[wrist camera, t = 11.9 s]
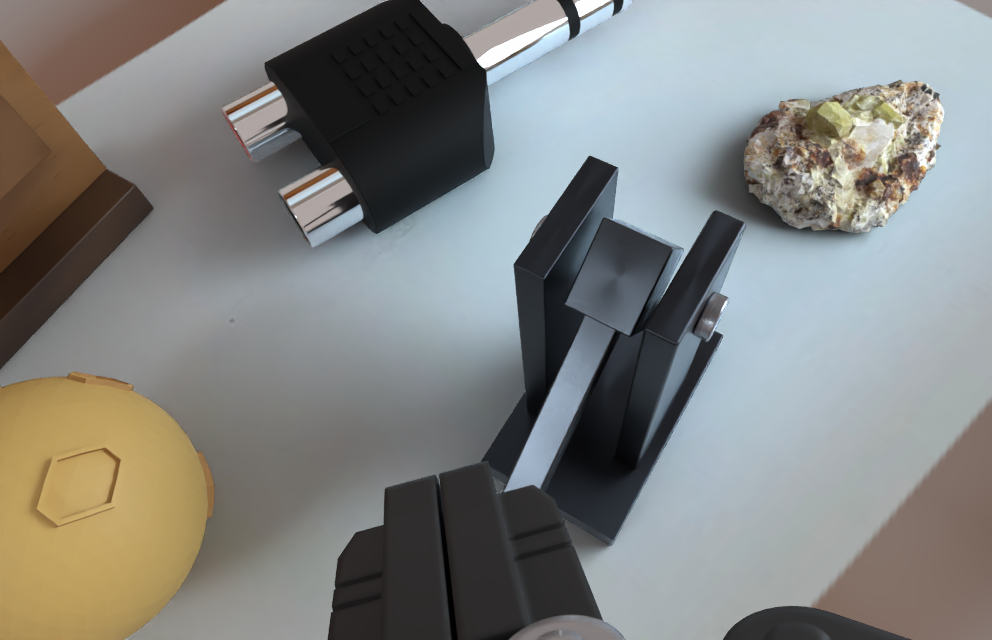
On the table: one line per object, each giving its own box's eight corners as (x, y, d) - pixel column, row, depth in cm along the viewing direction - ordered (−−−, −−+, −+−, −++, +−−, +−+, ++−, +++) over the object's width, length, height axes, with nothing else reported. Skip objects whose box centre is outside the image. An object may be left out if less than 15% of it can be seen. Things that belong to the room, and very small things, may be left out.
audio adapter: (195, 68, 36) (612, -142, 41) (237, 142, 41) (606, -54, 46) (300, 220, 31) (753, -37, 37) (333, 284, 36) (730, 48, 41)
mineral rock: (827, 252, 32) (731, 99, 34) (780, 282, 37) (697, 145, 38) (1016, 156, 34) (918, 15, 36) (951, 195, 39) (866, 67, 40)
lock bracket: (611, 546, 30) (646, 445, 18) (482, 470, 31) (442, 335, 20) (718, 347, 33) (803, 158, 22) (597, 288, 35) (618, 86, 24)
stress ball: (262, 629, 29) (133, 595, 20) (6, 709, 28) (-242, 709, 20) (232, 399, 34) (116, 288, 25) (11, 463, 33) (-189, 373, 24)
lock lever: (533, 597, 26) (500, 641, 23) (457, 548, 27) (416, 584, 24) (701, 255, 23) (688, 255, 20) (609, 214, 24) (584, 208, 21)
